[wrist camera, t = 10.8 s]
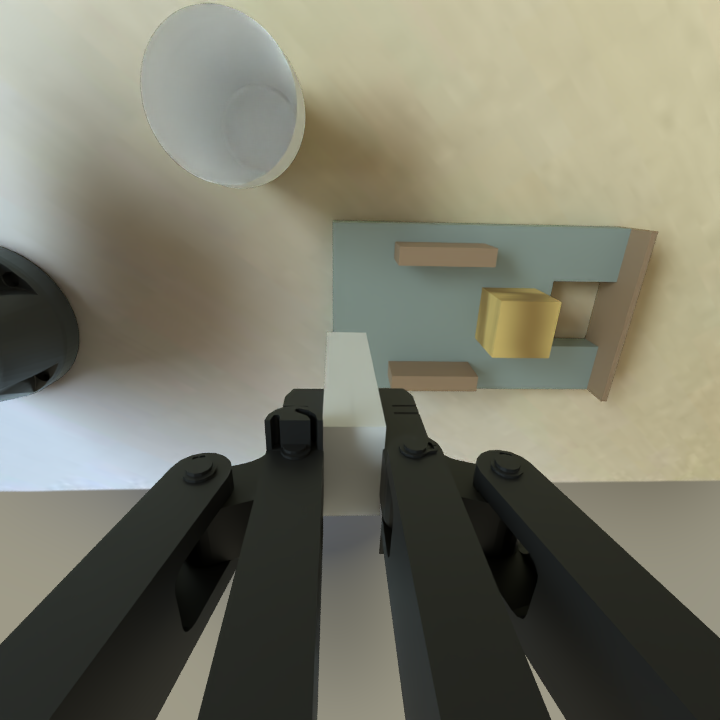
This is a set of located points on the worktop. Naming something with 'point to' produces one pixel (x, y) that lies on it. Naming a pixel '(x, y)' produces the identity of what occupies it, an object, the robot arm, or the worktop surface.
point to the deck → (463, 293)
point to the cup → (222, 96)
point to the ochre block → (517, 322)
